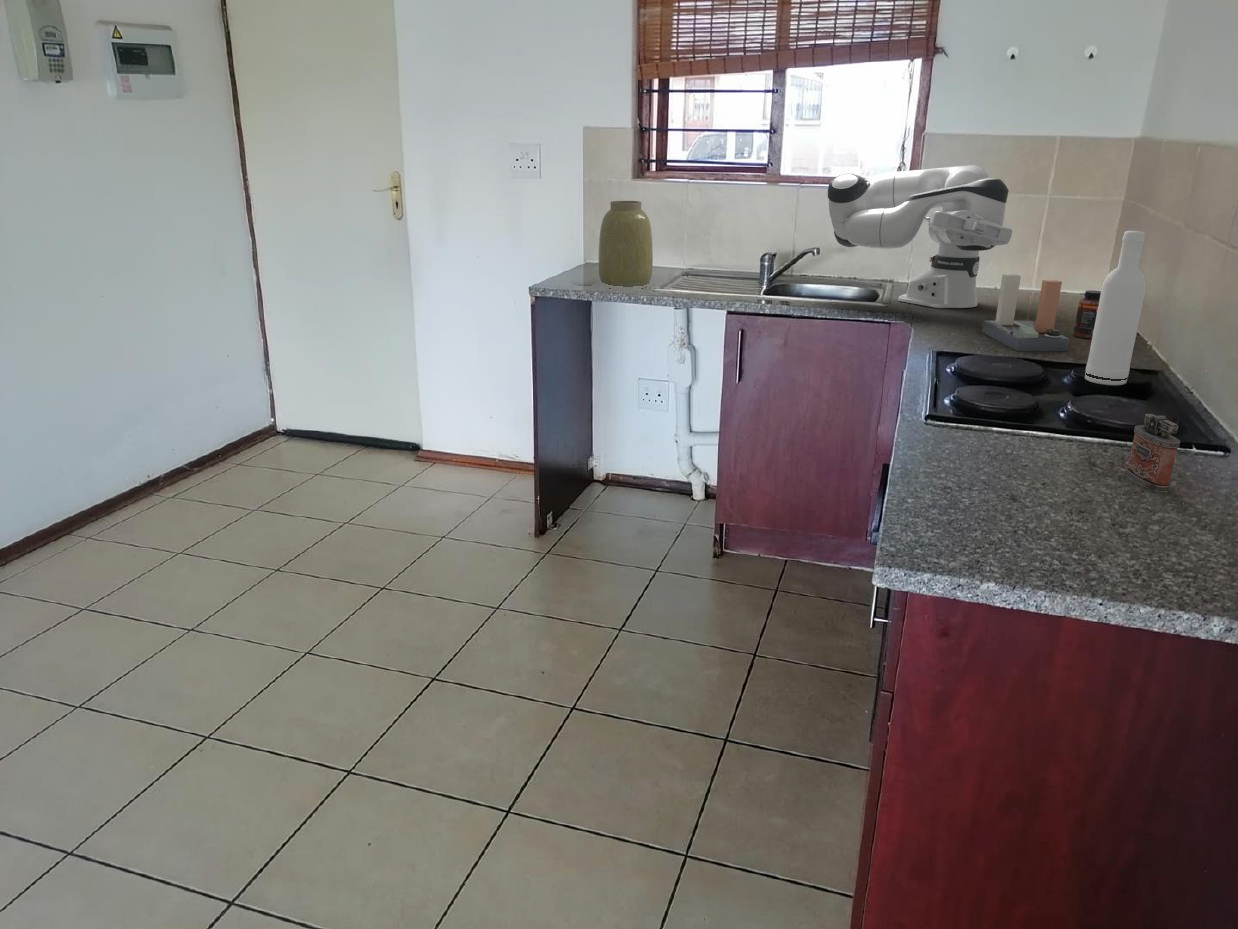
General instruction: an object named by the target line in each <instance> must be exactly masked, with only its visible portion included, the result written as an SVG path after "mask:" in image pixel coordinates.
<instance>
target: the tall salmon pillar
mask: <svg viewBox="0 0 1238 929" xmlns="http://www.w3.org/2000/svg"><path fill="white" fill-rule="evenodd" d="M1062 285H1063V281H1061V280H1057V279H1050V280H1049V279H1047V280H1046V279H1043V280H1042V282H1041V288H1040V294H1039V300H1038V305H1037V311H1036V318H1035V321H1036V323H1035V330H1036V331H1038V332H1046V330H1048V329H1055V324H1056V319H1057V312H1058V307H1059V301H1060V295H1061V292H1062V291H1061V289H1062Z"/></svg>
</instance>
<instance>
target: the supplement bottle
mask: <svg viewBox="0 0 1238 929" xmlns="http://www.w3.org/2000/svg"><path fill="white" fill-rule="evenodd" d="M1100 295H1101V291H1100V290H1092V289H1091V290H1085V292H1084V298H1082V299H1080V300H1079V302H1078V307H1077V312H1076V317H1075V322H1074V323H1075V324H1074V328H1073V335H1074V336H1075V337H1077V338H1081V339H1092V337H1093V332H1094V327H1095V321H1096V316H1097V311H1098V306H1099V301H1100Z"/></svg>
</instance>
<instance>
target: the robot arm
mask: <svg viewBox="0 0 1238 929" xmlns="http://www.w3.org/2000/svg"><path fill="white" fill-rule="evenodd" d="M1008 196H1009V188H1008V187H1007V185H1006V184H1005V182H1004V181H1003V180H1002V179H1000V178H995V177H989V174H988V173H987V171H986V170H984V168H982V167H980V166H978V165H976V164H975V165H973V164H967V165H956V166H947V167H938V168H928V169H925V168H924V169H914V170H902V171H901V170H899V171H891V172H886V173H885V172H883V173H879V174H875V175H871V176H868V177H863V176H861V175H858V174H855V173H842V174H839V175H838V176H836V177H835V178H834V179H832V180H831V181H830V182H829V184H828V186H827V198H828V210H829V217H830V219H831V223H832V224H831V225H832V228H833V234H834V237H835V240H836V241H837V243H838V244H840V245H841V246H842V247H846V248H855V247H863V248H869V249H882V250H883V249H884V250H886V249H898V248H903V247H905V246H907V245H908V244H910V243H911V242H912V241H913V240H914V239H915V237H916V236H917V235H918V234H917V233H918V232H919V230H920V229H921V226H922V224H923V222H924V221H927V223H928V225H927V226H928V234H929V237H930V239H931V240H932V241H934V242H935V243H937V244H938V253H937V254H935V255H933V256H932V257H929V260H928V262H931V265H930V267H929V268H927V269H926V270H924V271H922V272H921V273H918V275H916V276H914V277H913V278H911V280H910V281H909V284H908V286H907V291H906V293H904V294H901V295H899V296H898V301H899V302H903V303H910V304H915V305H919V306H926V307H931V308H935V309H967V308H969V309H970V308H975V307H977V306H978V299H977V289H976V288H977V276H978V273H979V268H980V260H981V258H980V256H979V253H980V252H981V251H982V252H983V251H988V250H992V249H993V248H994V247H996V246H1004V245H1008V244H1009V243H1010V241H1011V238H1012V234H1013V229H1012V228H1010V227H1005V226H1003V225H1004V220H1005V212H1006V211H1005V210H1006V204H1007V201H1008ZM936 208H937V209H938V208H942V211H939V210H937V211H933V212H931V214H930V216H927V215H928V212H930V210H932V209H936Z"/></svg>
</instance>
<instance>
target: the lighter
mask: <svg viewBox="0 0 1238 929" xmlns="http://www.w3.org/2000/svg"><path fill="white" fill-rule="evenodd" d="M1133 428H1134V430H1133V432H1134V436H1133V441H1132V446H1131V451H1130V455H1129V459H1128V463H1127V464H1128V465H1127V467H1125V470H1124V475H1125V476H1126V477H1127V478H1129V480H1132V481H1133V482H1135V484H1138V485H1140V486H1142V487H1144V488H1146V489H1148V490H1150V491H1154V492H1158V493H1168V492H1169V491H1170V488H1171V483H1170V481H1171V477H1172V473H1173V468H1174V464H1175V460H1176V456H1177V452H1178V448H1179V447H1180V446H1181V445H1180V444H1181V440H1180V439H1179V438H1177V437H1175V436H1174V435H1172V434H1177V433H1178V429H1179V425H1178V423H1174V422H1173V421H1170V420H1168V419H1167V417H1166V415H1155V414H1153V413H1145V415H1144V424H1141V425H1140V424H1139V425H1135V426H1134V427H1133Z"/></svg>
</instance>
